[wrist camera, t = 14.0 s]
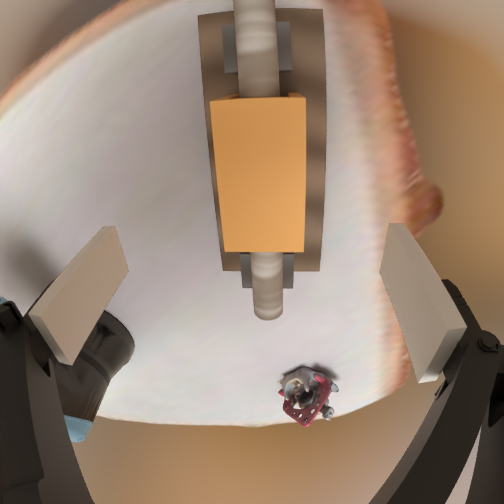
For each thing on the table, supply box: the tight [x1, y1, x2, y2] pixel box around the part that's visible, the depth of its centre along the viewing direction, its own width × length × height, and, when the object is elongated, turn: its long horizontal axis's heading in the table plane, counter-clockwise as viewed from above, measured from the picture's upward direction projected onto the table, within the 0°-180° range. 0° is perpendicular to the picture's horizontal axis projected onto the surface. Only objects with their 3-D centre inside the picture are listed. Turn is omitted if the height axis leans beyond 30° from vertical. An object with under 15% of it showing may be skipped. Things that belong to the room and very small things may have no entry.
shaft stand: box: [198, 0, 326, 320], centre depth 27 cm, size 30×12×10 cm, turn 3°
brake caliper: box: [278, 367, 339, 427], centre depth 50 cm, size 11×10×11 cm
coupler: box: [210, 93, 306, 252], centre depth 25 cm, size 12×6×9 cm, turn 3°
